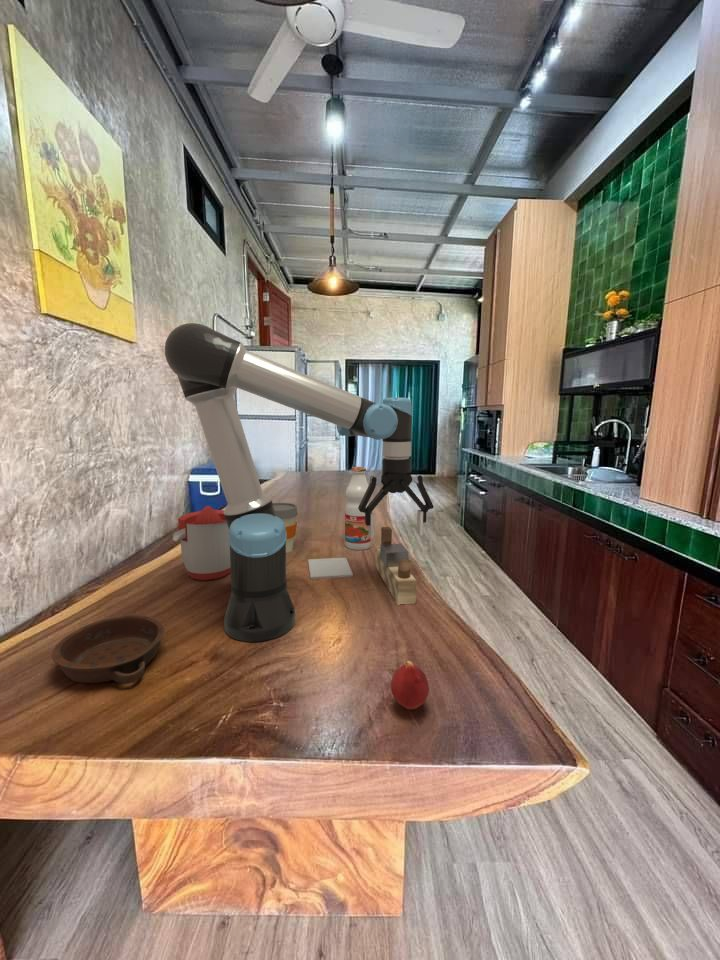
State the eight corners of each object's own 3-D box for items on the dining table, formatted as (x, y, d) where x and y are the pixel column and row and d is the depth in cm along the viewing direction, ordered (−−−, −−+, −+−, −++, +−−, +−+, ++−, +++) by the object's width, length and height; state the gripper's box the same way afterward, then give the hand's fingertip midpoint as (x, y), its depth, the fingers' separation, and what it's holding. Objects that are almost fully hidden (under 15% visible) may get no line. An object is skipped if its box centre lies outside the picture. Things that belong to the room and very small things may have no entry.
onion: (424, 695, 66) (425, 650, 65) (431, 721, 61) (433, 673, 59) (388, 695, 66) (390, 650, 65) (392, 721, 60) (394, 673, 59)
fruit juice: (375, 544, 144) (377, 467, 139) (363, 552, 135) (364, 470, 131) (352, 540, 148) (353, 465, 143) (339, 547, 140) (340, 468, 135)
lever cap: (408, 566, 107) (408, 551, 106) (386, 567, 106) (386, 552, 105) (400, 557, 114) (401, 543, 113) (380, 558, 113) (380, 544, 112)
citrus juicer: (167, 573, 116) (162, 505, 113) (225, 559, 127) (223, 497, 124) (186, 591, 104) (181, 516, 101) (248, 574, 116) (246, 506, 112)
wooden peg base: (415, 603, 99) (417, 553, 97) (397, 605, 98) (399, 553, 96) (389, 565, 124) (390, 524, 122) (375, 566, 123) (376, 524, 121)
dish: (71, 718, 61) (67, 688, 60) (43, 657, 76) (40, 633, 75) (186, 667, 73) (184, 642, 72) (142, 623, 88) (141, 602, 87)
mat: (352, 576, 115) (352, 574, 115) (310, 579, 113) (310, 576, 113) (346, 559, 128) (346, 557, 128) (308, 561, 126) (308, 559, 126)
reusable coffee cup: (253, 553, 133) (252, 509, 131) (272, 542, 145) (271, 501, 143) (287, 557, 130) (286, 512, 127) (304, 545, 141) (303, 504, 139)
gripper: (436, 455, 111) (434, 529, 115) (347, 457, 107) (348, 534, 110) (447, 458, 104) (444, 537, 107) (351, 460, 100) (352, 542, 103)
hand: (395, 535), depth 109 cm, fingers open, 13 cm apart
